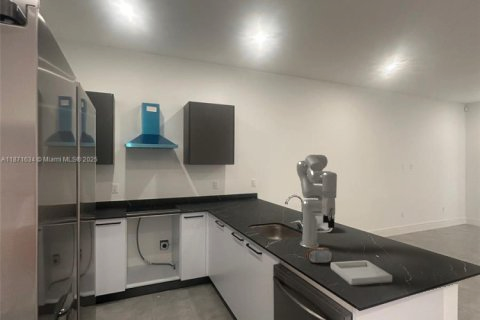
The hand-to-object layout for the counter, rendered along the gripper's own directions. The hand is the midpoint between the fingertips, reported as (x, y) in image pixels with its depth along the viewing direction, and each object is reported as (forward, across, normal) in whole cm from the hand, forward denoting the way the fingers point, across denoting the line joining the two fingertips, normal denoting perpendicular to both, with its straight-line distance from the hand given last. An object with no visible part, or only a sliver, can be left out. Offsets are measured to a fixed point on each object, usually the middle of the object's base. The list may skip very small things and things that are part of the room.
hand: (328, 225), depth 134 cm
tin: (+23, -4, -3) cm, 24 cm away
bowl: (+24, -73, +13) cm, 78 cm away
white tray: (+23, +9, +14) cm, 28 cm away
